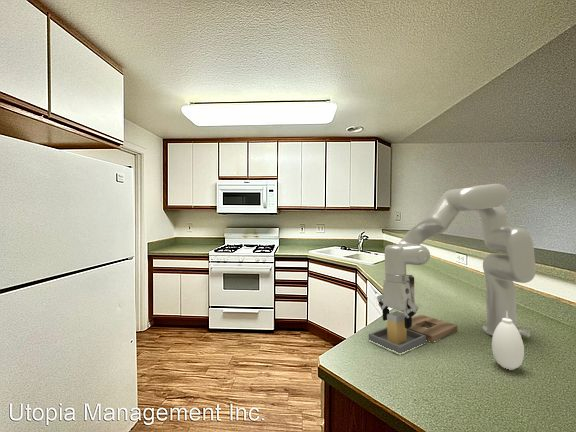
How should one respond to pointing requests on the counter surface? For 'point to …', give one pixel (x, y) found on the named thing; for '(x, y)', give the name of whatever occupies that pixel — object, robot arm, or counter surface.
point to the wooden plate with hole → (432, 327)
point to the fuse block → (396, 328)
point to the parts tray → (412, 341)
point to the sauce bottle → (507, 344)
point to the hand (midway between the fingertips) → (396, 323)
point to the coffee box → (411, 286)
